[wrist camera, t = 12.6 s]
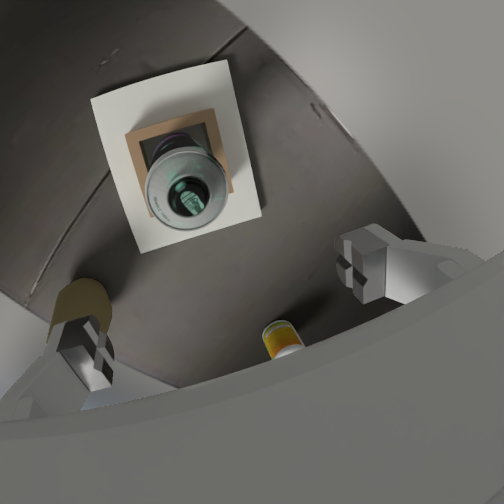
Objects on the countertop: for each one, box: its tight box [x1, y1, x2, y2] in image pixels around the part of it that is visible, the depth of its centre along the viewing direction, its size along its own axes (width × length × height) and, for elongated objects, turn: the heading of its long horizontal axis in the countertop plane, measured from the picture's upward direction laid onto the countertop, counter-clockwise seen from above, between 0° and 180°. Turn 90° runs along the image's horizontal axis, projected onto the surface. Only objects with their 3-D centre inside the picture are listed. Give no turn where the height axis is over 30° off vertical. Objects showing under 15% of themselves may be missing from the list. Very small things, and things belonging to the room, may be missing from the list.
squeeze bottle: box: [47, 277, 112, 343], centre depth 33 cm, size 8×8×18 cm
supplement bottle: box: [262, 320, 306, 360], centre depth 48 cm, size 5×5×10 cm
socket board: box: [90, 60, 262, 254], centre depth 34 cm, size 20×16×6 cm
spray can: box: [145, 132, 229, 232], centre depth 26 cm, size 6×6×20 cm
